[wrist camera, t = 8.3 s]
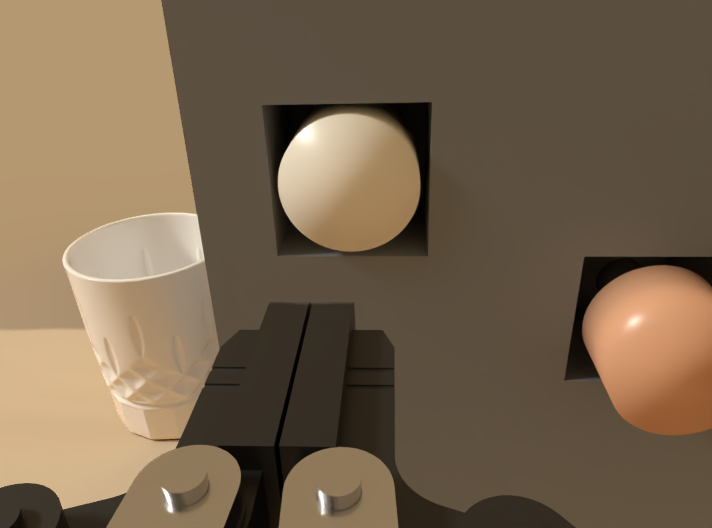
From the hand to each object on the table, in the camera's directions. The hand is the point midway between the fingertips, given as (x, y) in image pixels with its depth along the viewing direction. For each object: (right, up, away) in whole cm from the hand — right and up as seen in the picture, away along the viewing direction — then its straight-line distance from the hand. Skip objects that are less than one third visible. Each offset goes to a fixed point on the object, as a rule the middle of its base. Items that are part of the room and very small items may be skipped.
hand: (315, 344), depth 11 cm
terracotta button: (+11, -2, +10) cm, 15 cm away
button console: (+6, -9, +18) cm, 21 cm away
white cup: (-9, -6, +24) cm, 26 cm away
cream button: (+1, +3, +11) cm, 12 cm away
